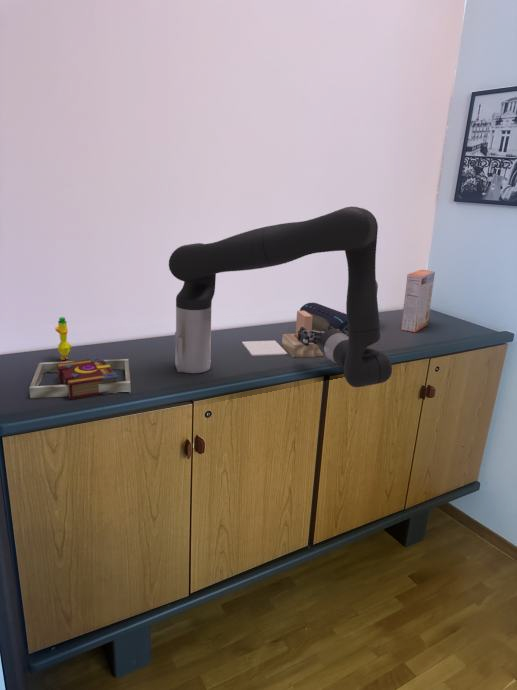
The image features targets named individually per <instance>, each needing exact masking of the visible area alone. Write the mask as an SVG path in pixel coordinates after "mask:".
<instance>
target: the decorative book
mask: <svg viewBox="0 0 517 690" xmlns="http://www.w3.org/2000/svg"><path fill="white" fill-rule="evenodd" d="M104 360H105V359H104V358H103V357H102V356H99V357H98V356H97V357H91V358H86V359H83V360H73V361H74V362H69V361H65V362H66V363H58V364H57V371H58V372H57V379H58V383H59V385H68V392H69V396H68V398H69V399H70V400H75V399H76V400H77V399H83V398H89V397H94V395H95V396H100V395H99V394H101V395H103V394H105V395H107V394H106V393H108V392H99V385H98V384H104V383H111V382H117V380H119V375H118V374H117V373H116V372H115V370H111V366H110V365H107V364H106V363H105V361H104Z"/></svg>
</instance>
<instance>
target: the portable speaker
mask: <svg viewBox="0 0 517 690" xmlns="http://www.w3.org/2000/svg"><path fill="white" fill-rule="evenodd" d="M298 311H306V312H307V313H309V314H310V315H312V316H313V318H312V330H315V331H319V332H322V331H323V332H326V331H327V330H328V328H329V326H332V327H333V328H335V329H339V330H340V331H342V330H344V329H345V330H347V331H348V325H347V313H345V312H341V311H339V310H336V309H333V308H331V307H328V306H325V305H322V304H319V303H317V302H307V303H305V304H303V305H302V306H301V307H300V309H299V310H298Z"/></svg>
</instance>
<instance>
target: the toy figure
mask: <svg viewBox="0 0 517 690" xmlns="http://www.w3.org/2000/svg"><path fill="white" fill-rule="evenodd" d="M58 319H59V320H58V321H57V322H58V325H57V326H55V327H54V329H55V332H56V333H58V334H59V335H58V336H59V338H60V343H59V344H58V346H57V352H58V353H59V354H60V355H61V357H59V359H62V360H65V359H68V360H69V358H68V357H69V353H70V351H71V350H72V345H71V344H69V341H68V340H67V339H68V338H67V337H68V330H69V329H68V327H67V320H66V317H61V316H60V317H58ZM64 358H65V359H64ZM62 360H61V361H62ZM65 361H66V360H65Z"/></svg>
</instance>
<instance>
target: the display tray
mask: <svg viewBox="0 0 517 690" xmlns="http://www.w3.org/2000/svg"><path fill="white" fill-rule="evenodd" d="M74 361H75V360H72V361H69V360H68V362H74ZM104 361H105V363H106V364H107V365H110V366H111V369H112V371H114V370H113V369H120V370H124V375H125V376H124V377H125V380H124V381H116V382H111V383H104V384H98V385H99V392H108V393H113V394H118V393H117V392H129V393H131V389H132V388H131V375H130V364H129V363H130V362H129V358H119V359H104ZM66 362H67V361H50V362H39V363H38V365H37V368H36V370H35V373H34V376H33V378H32V381H31V383H30V386H29V389H28V390H29V397H30V399H39V398H41V397H42V399H44V398H45V397H46V398H58V397H61V398H62V397H69V392H68V385H60V384H53V385H51V384H49V385H48V384H47V385H41V382H42V379H43V376H44V374H45V373H44V372H57V373H58V371H57V364H58V363H66ZM43 373H44V374H43ZM39 385H40V386H39ZM43 397H44V398H43Z"/></svg>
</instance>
